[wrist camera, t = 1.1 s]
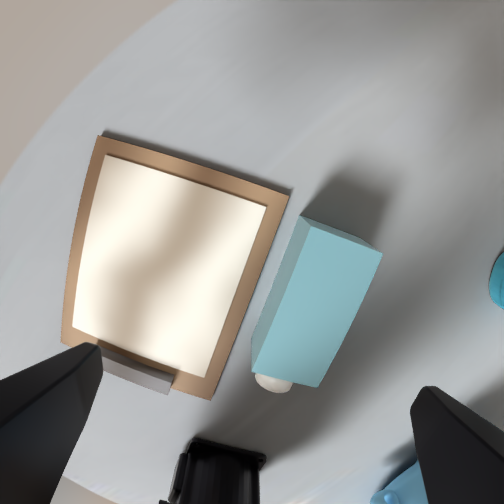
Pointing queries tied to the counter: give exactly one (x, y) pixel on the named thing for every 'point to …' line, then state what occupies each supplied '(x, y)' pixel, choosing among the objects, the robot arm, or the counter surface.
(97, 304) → the clipboard
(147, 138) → the counter surface
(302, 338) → the light blue block
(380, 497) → the decorative pot
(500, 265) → the tube
